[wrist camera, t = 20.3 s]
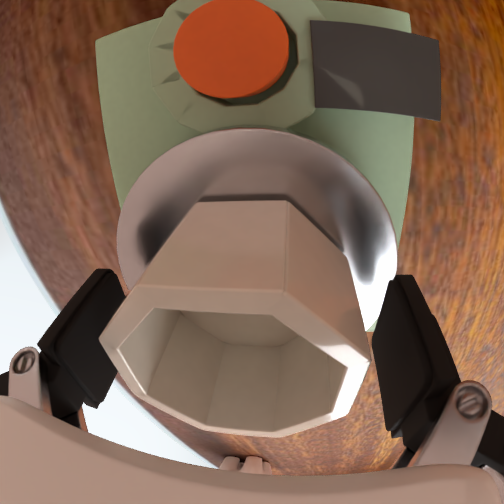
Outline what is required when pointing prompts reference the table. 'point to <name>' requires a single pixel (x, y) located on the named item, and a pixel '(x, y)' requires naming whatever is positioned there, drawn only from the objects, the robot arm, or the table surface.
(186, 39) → the tare button
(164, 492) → the robot arm
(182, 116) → the scale
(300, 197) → the scale pan
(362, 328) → the bowl
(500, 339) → the table surface
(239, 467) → the elephant figurine
